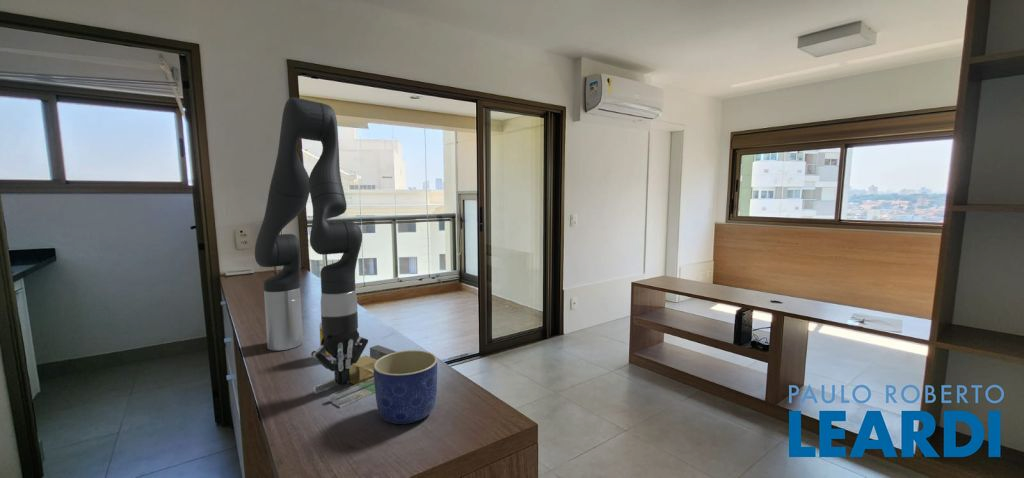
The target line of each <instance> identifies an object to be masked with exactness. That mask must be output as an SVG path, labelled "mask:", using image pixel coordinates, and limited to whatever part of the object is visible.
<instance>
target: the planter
mask: <svg viewBox="0 0 1024 478" xmlns="http://www.w3.org/2000/svg"><path fill="white" fill-rule="evenodd" d="M373 368H374V382H375V392H374V393H375V402H376V406H377V407H376V408H377V410H378V414H379V415H380V417H381V418H382V419H384V421H387V422H388V423H391V424H396V425H407V424H412V423H415V422H418V421H421V420H423V419H424V418H426V417H427V416H428V415H430V414H431V413H432V411H433V410H434V408H435V404H436V401H437V392H438V391H437V390H438V389H437V388H438V358H437V356H436V355H435V354H434V353H431V352H430V351H429V352H428V351H425V350H416V349H414V350H413V349H411V350H410V349H409V350H401V351H400V350H399V351H396V352H395V353H391V354H388V355H385V356H383V357H381V358H379V359H378V360H377V361H376V362H375V363H374V366H373Z"/></svg>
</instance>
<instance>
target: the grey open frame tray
mask: <svg viewBox="0 0 1024 478" xmlns="http://www.w3.org/2000/svg"><path fill="white" fill-rule="evenodd" d="M395 352H397V351H396V350H393V349H391V348H387V347H385V346H382V345H378V344H377V345H374V346H370V347H369V357H371V358H374V359H376V360H378V359H379V358H381V357H383V356H385V355H388V354H391V353H395ZM312 387H313V389H312V390H313V394H316V395H317V394H319V393H322V392H324V391H327V390H329V389H332V388H335V387H339V385H338V384H337V383H335V377H334V378H332V379H329V380H326V381H324V382H321V383H319V384H316V385H313V386H312ZM374 393H375V382H374V377H373V378H370V379H368V380H365V381H363V382H360V383H358V384H355V385H354V384H353V385H351V386H347V387H346V388H343V389H341V390H339V391H335V392H334V393H331V394H329V402H330V403H332V405H335V406H336V407H338V408H343V407H345V406H347V405H349V404H351V403H355V402H357V401H358V400H361V399H363V398H365V397H367V396H370V395H372V394H374Z"/></svg>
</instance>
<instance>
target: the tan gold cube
mask: <svg viewBox="0 0 1024 478" xmlns="http://www.w3.org/2000/svg"><path fill="white" fill-rule="evenodd" d="M376 361H377V360H376V359H374V358H371V357H370V355H363V356H360V357H359V359H358V361H357V363H355V364H354V363H353V364H352V365H351V366H350V368H349V371H350V380H349V381H348V383H351V384H353V385H355V384H358V383H360V382H363V381H365V380H368V379H370V378H373V377H374V368H373V366H374V363H375V362H376Z"/></svg>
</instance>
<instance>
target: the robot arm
mask: <svg viewBox="0 0 1024 478" xmlns="http://www.w3.org/2000/svg"><path fill="white" fill-rule="evenodd" d="M338 129H339V128H338V121H337V115H336V113H335V109H333V107H332V106H331V105H329V104H326V103H322V102H319V101H314V100H309V99H304V98H300V97H289V98H288V99H287V100H286V102H285V104H284V108H283V111H282V117H281V126H280V134H279V143H278V149H277V154H276V158H275V159H276V160H275V164H274V168H273V172H272V173H273V174H272V176H271V180H270V185H269V190H268V193H267V201H266V202H267V203H266V208H265V212H264V217H263V219H262V222H261V226H260V228H259V232H258V234H257V238H256V241H255V246H254V258H255V261H256V263H257V264H258V266H260V267H262V268H274V267H275V268H276V267H282V268H281V270H280V271H278V273H276V274H275V275H273V276H271V277H270V276H269V278H266V279H265V280H264V282H263V294H264V295H263V296H264V297H263V298H264V299H263V300H264V313H265V314H264V315H265V327H266V328H265V330H266V344H267V345H266V347H267V350H270V351H285V350H286V351H287V350H291V349H294V348H297V347H299V346H301V345H303V340H304V339H303V322H302V321H303V320H302V319H303V318H302V301H301V300H302V297H301V283H300V282H301V245H300V241H299V238H298V237H297V236H296V235H295V234H293V233H283V234H282V233H281V232H282V230H283V229H284V228H285V227H286V226H287V225H288V224H290V223H291V222H292V221H294V219H296V218H297V216H299V215H300V214H301V213H302V212H303V211H304V209H305V207H306V206H307V204H308V199H309V196H310V200H311V204H312V221H311V229H310V232H309V233H310V234H309V243H310V247H311V248H312V250H313V251H314V253H316V254H318V255H324V256H325V255H336V254H342V255H341V257H340V259H339V260H337V261H336V262H333V263H329V264H327V265H325V266H323V267H321V270H320V288H321V291H320V293H321V295H320V296H321V297H320V317H321V318H320V321H321V322H320V323H322V334H323V338H322V341H321V346H320V345H319V348H317V350H313V351H311V355H310V356H311V357H312V358H313V359H314V360H316V361H317V362H318V363H319V364H320V365H321V366H322V367H324V368H325V369H327V370H330V371H331V372H334V378H335V383H337V384H338V387H339V386H340V387H344V386H346V385H348V384H349V382H348V381H349V380H350V371H349V368H350V366H351V365H352V364H353V363H354V364H355V363H357V361H358V359H359V358H360V357H362V356H361V355H362V354H363V352H364V350H365V348H366V347H367V345H368V343H369V339H368V338H365V337H362V336H360V333H359V331H358V328H359V323H358V322H359V320H358V319H359V315H358V298H357V292H356V267H357V263H358V262H357V261H358V257H359V254H360V251H361V247H362V243H363V232H362V228H361V227H360V225H359V224H357V223H356V222H354V221H327V220H329V219H332V218H337V217H339V216H341V215H343V214H345V212H346V211H347V209H348V208H347V207H348V205H347V200H346V196H345V192H344V191H345V190H344V186H343V183H342V177H341V168H340V152H339V151H340V148H339V133H338V131H339V130H338ZM300 139H303V140H308V141H314V142H315V141H316V142H320V143H321V146H322V151H321V154H320V156H319V158H318V160H317V161H316V163H315V164H314V167H312V170H311V172H310V174H308V172H307V170H306V168H305V165H304V164H303V162H302V161H301V159H300V158H301V157H300V155H299V153H298V148H297V147H298V146H297V145H298V141H299V140H300ZM280 233H281V234H280ZM325 350H326V351H327V352H328V353H329V354H330V357H331V359H332V361H329V360H328V359H327V358H326V353H325Z"/></svg>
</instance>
